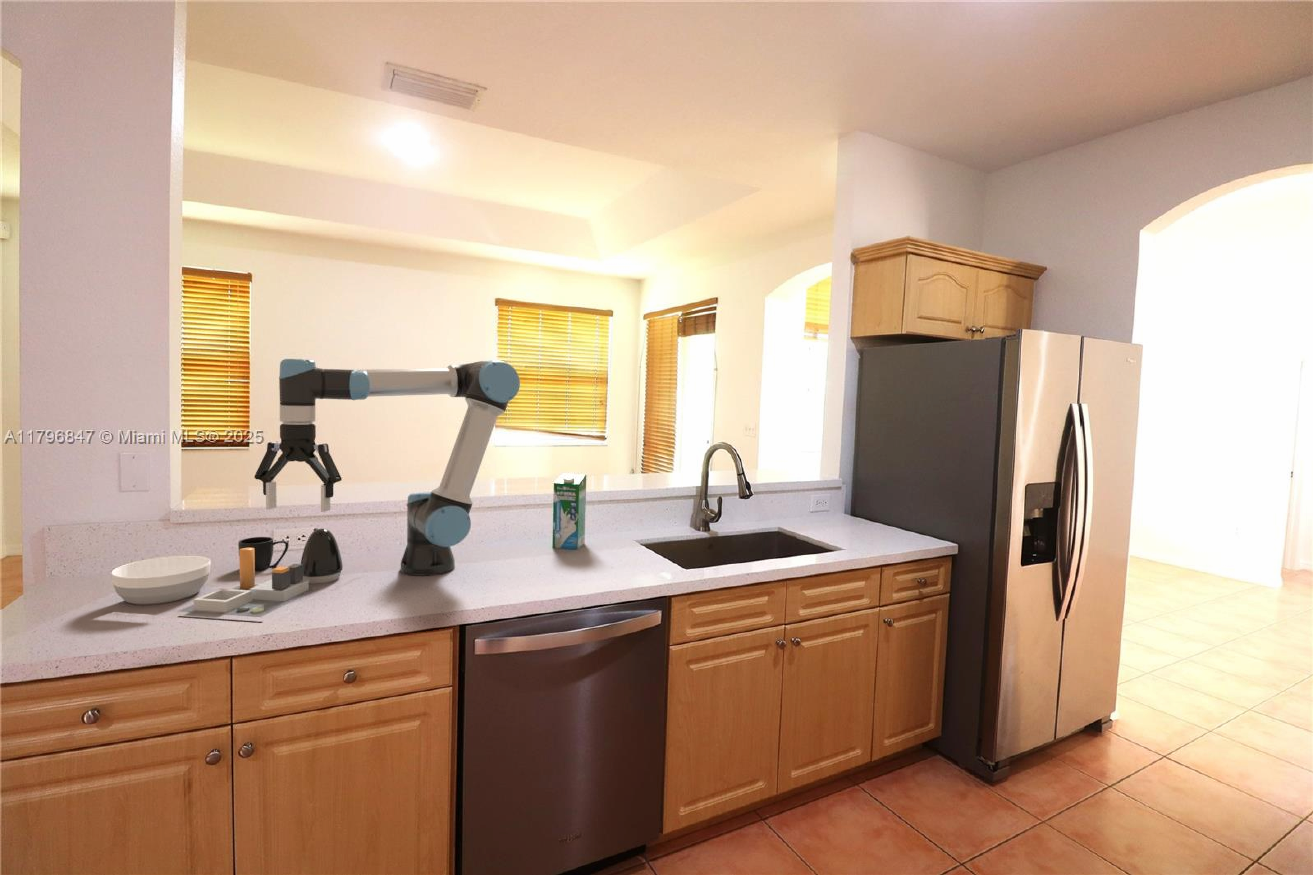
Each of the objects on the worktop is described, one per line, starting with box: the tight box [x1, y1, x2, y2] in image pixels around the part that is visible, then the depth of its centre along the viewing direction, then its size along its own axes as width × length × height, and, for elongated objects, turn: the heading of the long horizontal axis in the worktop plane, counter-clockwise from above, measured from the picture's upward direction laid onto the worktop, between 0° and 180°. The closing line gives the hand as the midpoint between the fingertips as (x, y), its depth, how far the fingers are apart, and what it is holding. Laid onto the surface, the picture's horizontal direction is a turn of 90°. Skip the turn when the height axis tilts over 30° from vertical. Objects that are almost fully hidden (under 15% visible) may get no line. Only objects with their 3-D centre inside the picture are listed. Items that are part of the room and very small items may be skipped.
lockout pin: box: [238, 548, 256, 590], centre depth 157 cm, size 3×3×10 cm
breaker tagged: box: [271, 566, 290, 590], centre depth 150 cm, size 2×3×5 cm
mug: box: [237, 536, 290, 572], centre depth 174 cm, size 8×12×10 cm
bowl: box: [110, 555, 212, 606], centre depth 150 cm, size 19×19×9 cm
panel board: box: [177, 579, 316, 624], centre depth 150 cm, size 20×20×4 cm
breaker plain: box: [287, 563, 303, 583], centre depth 155 cm, size 2×3×4 cm
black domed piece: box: [300, 528, 344, 584], centre depth 166 cm, size 10×10×15 cm
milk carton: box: [552, 472, 587, 550], centre depth 216 cm, size 9×9×25 cm
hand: (298, 509), depth 151 cm, fingers open, 13 cm apart
